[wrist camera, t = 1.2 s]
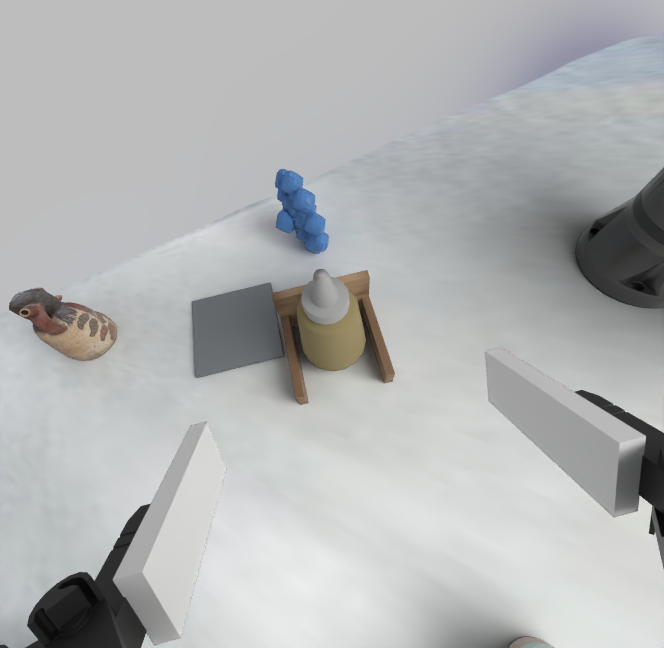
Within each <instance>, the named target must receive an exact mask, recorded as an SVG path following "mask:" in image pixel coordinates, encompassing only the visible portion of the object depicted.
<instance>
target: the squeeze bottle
mask: <svg viewBox="0 0 664 648" xmlns="http://www.w3.org/2000/svg"><path fill="white" fill-rule="evenodd" d="M297 319H298V325H299V331H300V337H301V342H302V348H303V352H304V353H305V355H306V357H307V358H308V360H309V361H310V362H311V363H313V364H314V365H315V366H317V367H318V368H321V369H325V370H329V371H337V370H343V369H345V368H347V367H349V366H350V365H352V364H354V363H356V361H357V360H358V359H359V357H360V356H361V355H362V353H363V351H364V347H365V343H366V338H365V333H364V328H363V323H362V319H361V315H360V310H359V306H358V301H357V299H356V297H355V296H354V294H353V293H352V292H351V291H350V290H349V289H347V287H346V286H345V285H344V283H343V282H341V281H340V280H338V279H336V278H332V277H329V275H328V273H327V272H326V270H324V269H318V270H316V271H315V273H314V277H313V281H311V282H309V284H308V285H307V286H306V287H305V288H304V290H303V293H302V296H301V298H300V301H299V303H298V306H297Z"/></svg>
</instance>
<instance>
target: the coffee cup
mask: <svg viewBox="0 0 664 648" xmlns="http://www.w3.org/2000/svg"><path fill="white" fill-rule="evenodd" d="M509 648H554V647H553V646H551V645H549V644H547V643H546V642H544V641H542V640H540V639H537V638H534V637H522V638H519V639H517V640H515V641H514V642H513V643H512V644H511V645H510V646H509Z"/></svg>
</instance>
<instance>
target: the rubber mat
mask: <svg viewBox="0 0 664 648" xmlns="http://www.w3.org/2000/svg"><path fill="white" fill-rule="evenodd" d="M272 293H273V292H272V287H271V283H266V284H262V285H258V286H254V287H250V288H246V289H242V290H238V291H233V292H229V293H225V294H221V295H217V296H213V297H209V298H205V299H201V300H196V301H192V311H193V332H194V354H195V375H196V377H197V378H199V377H203V376H207V375H211V374H215V373H219V372H223V371H227V370H231V369H235V368H239V367H243V366H247V365H251V364H255V363H259V362H263V361H267V360H271V359H275V358H279V357H283V356H284V354H283V348H282V342H281V337H280V331H279V326H278V320H277V315H276V309H275V305H274V303H273V301H272V296H271V294H272Z"/></svg>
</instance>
